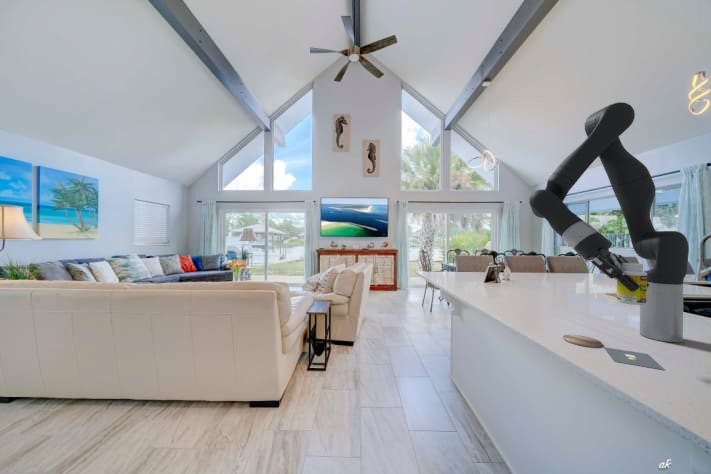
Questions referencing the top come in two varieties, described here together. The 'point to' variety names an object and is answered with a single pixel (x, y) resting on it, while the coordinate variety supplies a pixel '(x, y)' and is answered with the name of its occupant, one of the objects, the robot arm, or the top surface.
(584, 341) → the cork coaster
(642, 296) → the supplement bottle
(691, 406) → the top surface
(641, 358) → the gray board
